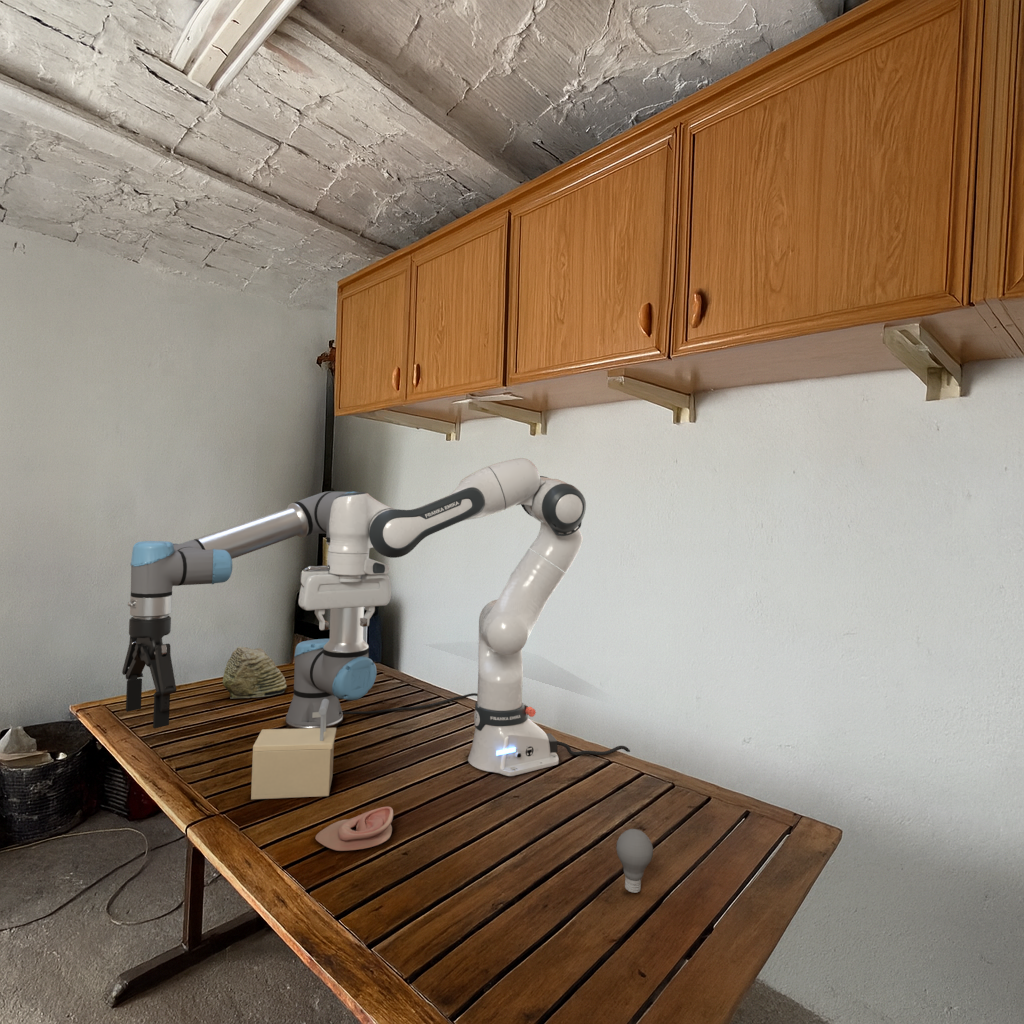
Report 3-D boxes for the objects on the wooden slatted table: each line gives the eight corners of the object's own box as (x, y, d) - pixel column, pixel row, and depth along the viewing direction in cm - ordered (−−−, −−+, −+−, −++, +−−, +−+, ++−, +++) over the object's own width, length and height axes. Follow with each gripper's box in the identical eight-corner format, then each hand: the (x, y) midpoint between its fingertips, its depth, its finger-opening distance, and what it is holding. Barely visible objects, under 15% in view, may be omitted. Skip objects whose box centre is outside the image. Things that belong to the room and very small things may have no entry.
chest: (332, 776, 144) (334, 732, 143) (328, 796, 134) (330, 749, 134) (260, 779, 141) (261, 734, 140) (250, 799, 131) (252, 751, 131)
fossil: (218, 695, 195) (220, 647, 195) (278, 685, 208) (279, 640, 207) (228, 703, 189) (230, 653, 188) (289, 692, 201) (290, 645, 201)
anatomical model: (307, 824, 115) (337, 795, 126) (306, 846, 115) (336, 815, 126) (376, 835, 112) (400, 805, 123) (375, 857, 112) (399, 825, 123)
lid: (336, 732, 144) (337, 696, 143) (332, 749, 134) (334, 710, 134) (261, 734, 140) (263, 697, 140) (252, 751, 131) (254, 711, 131)
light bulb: (610, 879, 108) (613, 822, 108) (644, 879, 109) (647, 822, 109) (619, 902, 102) (622, 840, 102) (655, 901, 103) (658, 840, 103)
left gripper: (107, 609, 136) (103, 707, 136) (157, 627, 120) (153, 738, 121) (144, 605, 142) (141, 700, 142) (197, 623, 126) (193, 728, 127)
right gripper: (306, 567, 130) (303, 634, 130) (395, 566, 143) (392, 626, 143) (295, 564, 135) (292, 628, 135) (382, 562, 148) (379, 621, 148)
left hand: (146, 718), depth 131 cm, fingers open, 13 cm apart
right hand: (344, 627), depth 139 cm, fingers open, 8 cm apart
